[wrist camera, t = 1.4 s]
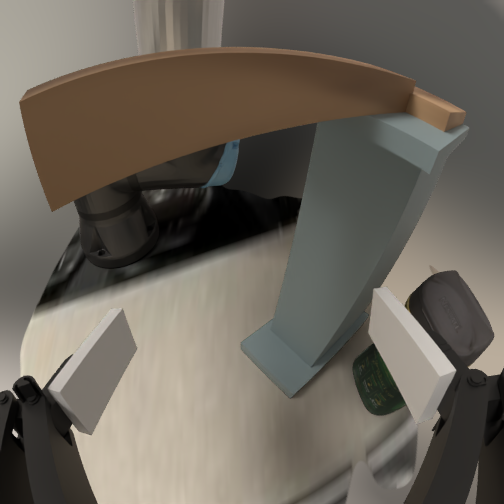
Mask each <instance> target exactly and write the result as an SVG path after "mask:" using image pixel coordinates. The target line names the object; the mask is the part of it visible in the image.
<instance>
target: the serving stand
mask: <svg viewBox="0 0 504 504" xmlns="http://www.w3.org/2000/svg"><path fill="white" fill-rule="evenodd" d="M468 130H469V127H467V126H465V125H464V124H461V125H459V126H457V127H454V128H452V129H450V130H448V131H445V132H443V131H441V130H439V129H438V128H436V127H434V126H432V125H430V124H428V123H426V122H424V121H423V120H421V119H419V118H417V117H414V116H412V115H410V114H408V113H406V112H401V113H387V114H376V115H366V116H358V117H350V118H342V119H335V120H329V121H322V122H318V124H317V129H316V135H315V139H314V145H313V150H312V155H311V160H310V165H309V170H308V175H307V179H306V184H305V189H304V194H303V198H302V203H301V208H300V212H299V217H298V221H297V225H296V230H295V234H294V239H293V243H292V247H291V251H290V256H289V260H288V264H287V268H286V272H285V276H284V280H283V284H282V288H281V292H280V296H279V300H278V304H277V308H276V311H275V315H274V318H273V319H272V320H270V321H269V322H268V323H266V324H265V325H264V326H262V327H261V328H260V329H259V330H257V331H256V332H255V333H253V334H252V335H250V336H249V337H248V338H246V339H245V340H244V341H242V342H241V350H242V351H243V352H244V353H245V354H246V355H247V356H248V357H249V358H250V359H251V360H252V361H253V362H254V363H255V364H256V365H257V367H258V368H259V369H260V370H261V371H262V372H263V373H264V374H265V375H266V376H267V377H268V378H269V379H270V380H271V381H272V382H273V383H274V384H275V385H277V386H278V387H279V388H280V389H281V390H282V391H283V392H284V393H285V394H286V395H287V396H288V397H289V398H291V397H292V396H293V395H295V394H296V393H297V392H298V391H299V390H300V389H301V388H302V387H303V386H304V385H305V384H306V383H307V382H308V381H309V380H311V379H312V378H313V377H314V376H315V375H316V374H317V373H318V372H319V371H320V370H321V369H322V368H323V367H324V366H325V365H326V364H327V363H328V362H329V361H330V359H331V358H332V357H333V356H334V355H335V354H336V353H337V352H338V351H339V350H340V349H341V348H342V347H343V346H344V345H345V343H346V342H347V341H348V340H349V339H350V338H351V337H352V336H353V335H354V333H355V332H356V331H357V330H358V329H359V328H360V327H361V325H362V324H363V323H364V322H365V320H366V319H367V318H368V316H369V315H368V314H367V313H366V312H365V309H366V308H367V306H368V305H369V303H370V302H371V300H372V298H373V289H374V288H380V286H381V285H382V283H383V282H384V280H385V279H386V277H387V275H388V274H389V272H390V271H391V269H392V267H393V266H394V264H395V262H396V260H397V259H398V257H399V255H400V254H401V252H402V250H403V249H404V247H405V245H406V243H407V241H408V240H409V238H410V236H411V234H412V232H413V230H414V228H415V226H416V224H417V223H418V221H419V219H420V217H421V215H422V213H423V211H424V209H425V206H426V205H427V202H428V200H429V198H430V196H431V194H432V192H433V190H434V188H435V185H436V183H437V180H438V178H439V176H440V174H441V171H442V169H443V167H444V164H445V162H446V159H447V157H448V156H449V155H450V153H451V152H452V151H453V150H454V149H455V148H456V147H457V146H458V145H459V144H460V143H461V142H462V141H463V140H464V139H465V138H466V136H467V133H468Z"/></svg>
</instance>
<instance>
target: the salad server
mask: <svg viewBox="0 0 504 504" xmlns="http://www.w3.org/2000/svg"><path fill="white" fill-rule="evenodd" d="M415 83H416V81H415V80H412V79H410V78H407V77H405V76H402V75H400V74H397V73H394V72H392V71H389V70H386V69H382V68H380V67H377V66H373V65H370V64H366V63H362V62H358V61H354V60H349V59H345V58H340V57H335V56H329V55H324V54H317V53H311V52H303V51H295V50H285V49H274V48H256V47H211V48H194V49H182V50H173V51H165V52H157V53H151V54H145V55H139V56H134V57H129V58H124V59H120V60H115V61H111V62H107V63H103V64H99V65H96V66H92V67H89V68H85V69H82V70H79V71H76V72H73V73H70V74H67V75H64V76H61V77H59V78H56V79H53V80H50V81H48V82H45V83H43V84H41V85H38V86H36V87H33V88H31V89H29V90H27V92H26V93H25V95H24V96H23V97H22V99H21V100H20V102H19V103H20V109H21V114H22V119H23V123H24V128H25V131H26V135H27V140H28V143H29V147H30V150H31V154H32V157H33V161H34V164H35V167H36V170H37V173H38V176H39V179H40V182H41V185H42V187H43V190H44V193H45V195H46V198H47V201H48V203H49V205H50V208H51V211H52V212H53V211H55V210H57V209H59V208H60V207H62V206H64V205H66V204H68V203H70V202H72V201H74V200H76V199H78V198H80V197H82V196H85V195H87V194H89V193H91V192H93V191H95V190H97V189H100V188H102V187H104V186H106V185H109V184H111V183H113V182H116V181H118V180H120V179H123V178H125V177H128V176H130V175H133V174H135V173H138V172H140V171H143V170H145V169H148V168H151V167H153V166H156V165H159V164H161V163H164V162H167V161H170V160H173V159H176V158H179V157H182V156H185V155H188V154H191V153H194V152H197V151H200V150H203V149H207V148H210V147H213V146H217V145H220V144H224V143H227V142H231V141H235V140H238V139H242V138H246V137H250V136H254V135H258V134H262V133H267V132H271V131H276V130H280V129H285V128H289V127H295V126H300V125H305V124H310V123H316V122H322V121H329V120H335V119H342V118H350V117H358V116H366V115H376V114H387V113H401V112H406V113H408V114H410V115H412V116H414V117H417V118H419V119H421V120H423V121H424V122H426V123H428V124H430V125H432V126H434V127H436V128H438V129H439V130H441V131H443V132H445V131H448V130H450V129H452V128H454V127H457V126H459V125H461V124H463V121H464V118H465V115H466V112H465V111H463V110H462V109H460V108H458V107H456V106H454V105H452V104H450V103H449V102H447V101H445V100H443V99H441V98H439V97H437V96H435V95H432V94H430V93H428V92H426V91H424V90H421V89H419V88H417V87H415Z"/></svg>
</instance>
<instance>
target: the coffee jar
mask: <svg viewBox="0 0 504 504" xmlns="http://www.w3.org/2000/svg"><path fill="white" fill-rule="evenodd" d="M404 307H405V308H406V309H407V310H408V311H409V312H410V314H411V315H412V316H413V317H414V318H415V319H416V321H417V322H418V323H419V324H420V325H421V326H422V328H423V329H424V330H425V331H426V332H427V331H431V330H433V331H435V332H436V333H438V334H440V335H441V336H442V337H443V338H444V339H445V340H446V341H447V344H449V345H450V346H451V347H452V350H454V351H455V352H456V353H457V355H458V356H459V357H460V358H461V360H462V361H463V362H464V363H465V364H466V366H467V367H469V366H470V365H471V364H473V363H474V361H475V360H476V359H477V358H478V357H479V356H480V355H481V354H482V353H483V351H485V349H486V348H487V347H488V346H489V345H490V343H491V342H492V340H493V338H494V332H493V331H492V327H491V325H490V322H489V320H488V318H487V317H486V315H485V313H484V311H483V310H482V308H481V306H480V304H479V302H478V301H477V299H476V298H475V296H474V294H473V293H472V292H471V290H470V288H469V287H468V285H467V284H466V283H465V282H464V280H463V279H462V278H461V277H460V276H459V274H458V272H457V271H445V272H440V273H437V274H434V275H432V276H431V277H429V278H428V279H427V280H425V281H424V282H423V283H422V284H421V285H420V286H419V287H418V288H417V289H416V290H415V291H414V292H413V293H412V294H411V295H410V296H409V298H408V299H407V301H406V304H405V306H404ZM353 374H354V379H355V383H356V386H357V389H358V392H359V394H360V397H361V399H362V401H363V403H364V405H365V407H366V408H367V410H368V411H369V412H371V413H372V414H374V415H386V414H389V413H392V412H394V411H396V410H398V409H400V408H402V407H404V406H405V405H407V404H406V402H405V400H404V398H403V396H402V394H401V392H400V390H399V388H398V387H397V385H396V383H395V381H394V379H393V377H392V375H391V373H390V371H389V369H388V368H387V366H386V364H385V362H384V360H383V358H382V357H381V355H380V353H379V351H378V349H377V348H376V346H375V344H374V343H373V344H372V345H371V346H369V347H368V348H367V349H366V350H365V351H363V352H362V353H361V354H360V355H359V356H358V357H357V358H356V360H355V362H354V364H353Z"/></svg>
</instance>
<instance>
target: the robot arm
mask: <svg viewBox="0 0 504 504" xmlns="http://www.w3.org/2000/svg"><path fill="white" fill-rule="evenodd" d="M133 5H134V17H135V27H136V35H137V42H138V51H139V55H145V54H151V53H157V52H165V51H173V50H182V49H194V48H211V47H221V35H222V22H223V9H224V0H133ZM239 140H240V139H238V140H235V141H231V142H227V143H224V144H220V145H217V146H213V147H210V148H207V149H203V150H200V151H197V152H194V153H191V154H188V155H185V156H182V157H179V158H176V159H173V160H170V161H167V162H164V163H161V164H159V165H156V166H153V167H151V168H148V169H145V170H143V171H140V172H138V173H135V174H133V175H130V176H128V177H125V178H123V179H120V180H118V181H116V182H113V183H111V184H109V185H106V186H104V187H102V188H100V189H97V190H95V191H93V192H91V193H89V194H87V195H85V196H82V197H80V198H78V199H76V200H74V203H75V206H76V209H77V212H78V214H79V225H80V242H81V247H82V249H83V251H84V253H85V256H86V257H87V259H88V260H89V261H90V262H91V263H93V264H94V265H96V266H99V267H103V268H116V267H122V266H125V265H128V264H131V263H133V262H135V261H137V260H139V259H140V258H142V257H143V256H145V255H146V254H147V253H148V252H149V251H150V250H151V249H152V248H153V246H154V245H155V243H156V242H157V240H158V237H159V225H158V220H157V217H156V214H155V213H154V211H153V209H152V208H151V206H150V205H149V203H148V202H147V200H146V198H145V197H144V195H143V194H142V191H145V190H158V189H177V188H205V187H207V186H216V185H223V184H225V183H226V182H228V181H229V180H230V178H231V177H232V175H233V173H234V169H235V166H236V162H237V157H238V151H239V149H238V145H239ZM368 333H369V335H370V337H371V339H372V340H373V342H374V344H375V346H376V348H377V349H378V351H379V353H380V355H381V357H382V358H383V360H384V362H385V364H386V366H387V368H388V369H389V371H390V373H391V375H392V377H393V379H394V381H395V383H396V385H397V387H398V388H399V390H400V392H401V394H402V396H403V398H404V400H405V402H406V404H407V406H408V408H409V410H410V412H411V414H412V416H413V418H414V421H415V423H416V424H419V423H421V422H424V421H427V420H430V419H432V418H433V416H434V414H435V412H436V411H437V410H438V412H439V413H440V415H441V416H440V418H439V419H438V421H437V423H436V424H435V426H434V427H433V429H432V431H434V430H435V431H434V434H433V437H432V440H431V443H430V446H429V449H428V451H427V454H426V456H425V459H424V461H423V464H422V466H421V468H420V471H419V473H418V475H417V478H416V480H415V482H414V484H413V486H412V488H411V490H410V492H409V494H408V496H407V498H406V500H405V502H404V504H465V502H466V499H467V497H468V494H469V491H470V488H471V485H472V481H473V478H474V475H475V471H476V467H477V463H478V459H479V463H478V485H477V496H476V504H504V368H503V370H502V372H501V374H500V375H494V376H487V375H486V374H485V373H484V372H482V371H480V370H478V369H469V368H468V367H467V366H466V364H465V363H464V362H463V361H462V360H461V358H460V357H459V356H458V355H457V353H456V352H455V351H454V350H452V347H451V346H450V345H449V344H447V341H446V340H445V339H444V338H443V337H442V336H441V335H440V334H438V333H436V332H435V331H433V330H431V331H427V332H426V331H425V330H424V329H423V328H422V326H421V325H420V324H419V323H418V322H417V321H416V319H415V318H414V317H413V316H412V315H411V314H410V312H409V311H408V310H407V309H406V308H405V307H404V306H403V304H402V303H401V302H400V301H399V300H398V299H397V298H396V297H395V296H394V294H393V293H392V292H391V291H390V290H389V289H388V288H387V287H381V288H374V289H373V298H372V307H371V316H370V323H369V330H368ZM136 350H137V346H136V344H135V341H134V339H133V336H132V333H131V331H130V328H129V325H128V322H127V320H126V317H125V314H124V311H123V308H111V310H110V311H109V312H108V313H107V314H106V315H105V317H104V318H103V319H102V320H101V321H100V322H99V324H98V325H97V326H96V327H95V328H94V330H93V331H92V332H91V333H90V334H89V336H88V337H87V338H86V339H85V341H84V342H83V343H82V344H81V345H80V347H79V348H78V349H77V350H76V352H75V353H74V354H72V355H71V356H70V357H68V358H67V359H65V361H64V362H63V363H62V364H61V366H60V368H58V370H57V371H56V373H54V375H53V376H52V377H51V379H50V380H49V381H48V383H47V384H46V385H45V387H44V388H43V389H42V390H41V388H40V387H39V385H38V384H37V382H36V381H35V379H34V378H33V377H32V376H23V377H21V378H19V379H18V380H17V381H16V382H15V383H14V385H13V388H12V389H13V391H14V392H15V393H16V395H17V396H18V398H19V399H16V398H15V396H14V395H13V393H12V392H11V391H8V390H6V391H2V392H0V504H98V503H97V501H96V498H95V496H94V494H93V491H92V489H91V486H90V484H89V481H88V479H87V476H86V473H85V470H84V467H83V464H82V461H81V458H80V455H79V452H78V448H77V445H76V441H75V438H74V434H73V432H72V430H71V429H70V427H71V425H72V424H73V425H74V426H75V427H76V428H77V430H78V431H79V432H82V433H86V434H89V435H92V434H93V431H94V429H95V427H96V425H97V423H98V421H99V419H100V417H101V415H102V413H103V411H104V410H105V408H106V406H107V404H108V402H109V400H110V398H111V396H112V394H113V392H114V390H115V388H116V387H117V385H118V383H119V381H120V379H121V377H122V375H123V374H124V372H125V370H126V368H127V366H128V364H129V363H130V361H131V359H132V357H133V355H134V354H135V352H136ZM13 429H14V430H15V431H16V432H17V433H18V437H17V438H16V437H15V436H14V435H13V434H12V431H13Z"/></svg>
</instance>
